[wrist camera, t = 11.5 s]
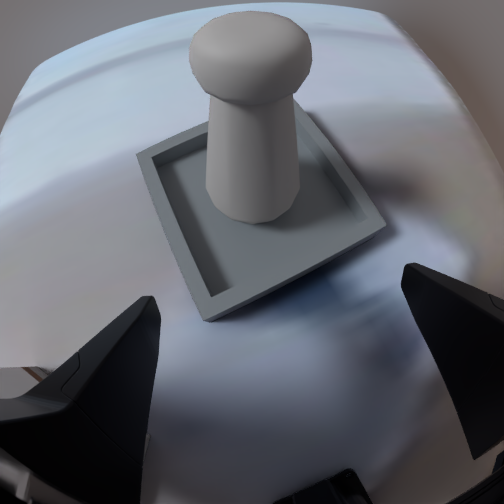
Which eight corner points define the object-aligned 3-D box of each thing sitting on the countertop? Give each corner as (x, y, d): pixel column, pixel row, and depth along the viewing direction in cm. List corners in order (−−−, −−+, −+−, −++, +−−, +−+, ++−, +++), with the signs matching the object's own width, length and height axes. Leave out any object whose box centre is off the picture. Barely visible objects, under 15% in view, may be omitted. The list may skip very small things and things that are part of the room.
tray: (373, 237, 20) (386, 225, 17) (210, 322, 18) (203, 320, 16) (286, 113, 23) (288, 93, 21) (146, 171, 21) (135, 154, 19)
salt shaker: (200, 179, 20) (149, 20, 7) (271, 151, 21) (282, -10, 8) (232, 250, 18) (191, 95, 6) (310, 215, 19) (373, 55, 7)
